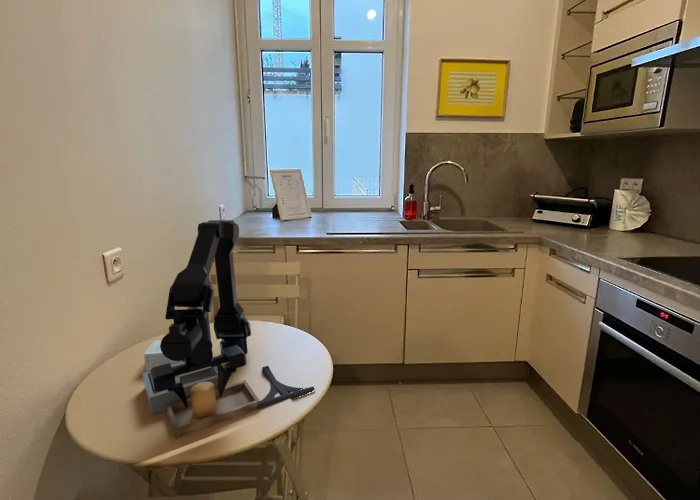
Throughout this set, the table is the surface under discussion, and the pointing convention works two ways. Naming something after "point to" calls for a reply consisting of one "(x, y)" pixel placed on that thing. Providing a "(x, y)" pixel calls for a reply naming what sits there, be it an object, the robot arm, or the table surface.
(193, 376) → the grey storage bin
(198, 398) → the tan cylinder
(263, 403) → the bracket
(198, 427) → the walnut tray
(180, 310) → the robot arm
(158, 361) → the skincare box
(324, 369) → the table surface
